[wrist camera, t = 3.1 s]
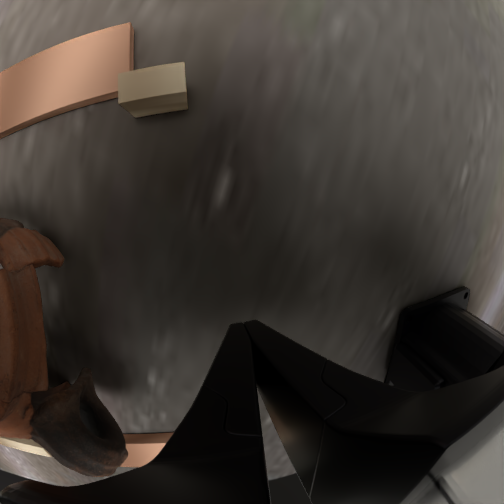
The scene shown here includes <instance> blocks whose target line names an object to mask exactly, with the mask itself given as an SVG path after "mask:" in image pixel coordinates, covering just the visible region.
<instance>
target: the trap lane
mask: <svg viewBox="0 0 504 504" xmlns="http://www.w3.org/2000/svg"><path fill="white" fill-rule="evenodd" d="M113 98H118V104H119V105H121V106H122V107H123V108H124V109H125V110H127V111H128V112H129V113H130V114H131V115H133V116H134V117H135V118H138V117H143V116H148V115H154V114H159V113H166V112H172V111H179V110H186V109H188V101H187V87H186V75H185V63H184V62H179V63H171V64H165V65H158V66H153V67H147V68H142V69H137V70H134V29H133V27H132V25H131V22H130V23H125V24H121V25H117V26H113V27H109V28H106V29H102V30H99V31H96V32H92V33H89V34H86V35H83V36H80V37H77V38H74V39H72V40H69V41H66V42H64V43H61V44H58V45H56V46H53V47H51V48H49V49H46V50H44V51H42V52H40V53H37V54H35V55H33V56H31V57H29V58H27V59H25V60H23V61H21V62H19V63H17V64H15V65H13V66H11V67H10V68H8V69H6V70H4V71H2V72H1V73H0V139H1V138H3V137H5V136H7V135H10V134H12V133H14V132H16V131H18V130H21V129H23V128H25V127H28V126H30V125H32V124H35V123H37V122H40V121H43V120H45V119H48V118H51V117H53V116H56V115H59V114H62V113H65V112H68V111H71V110H74V109H77V108H80V107H84V106H87V105H91V104H94V103H98V102H102V101H105V100H109V99H113ZM173 433H174V432H172V433H154V434H123V435H124V439H125V442H126V449H127V451H128V457H127V458H126V460H125V461H124V463H123V464H122V465H121V467H141V466H144V465H146V464H147V463H149V462H150V461H151V460H153V459H154V458H155V457H156V456H157V455H158V454H159V452H160V451H161V450H162V448H163V447H164V446H165V444H166V443H167V441H168V440H169V439H170V437H171V436H172V434H173ZM0 444H2V445H5V446H8V447H11V448H15V449H18V450H22V451H26V452H30V453H34V454H38V455H43V456H48V457H51V456H52V455H51V454H50V453H49V452H48V451H46V450H45V449H44V448H43V447H42V446H40V445H39V444H37V443H36V442H34V441H33V440H32V439H30V440H28V439H19V438H6V437H1V436H0Z"/></svg>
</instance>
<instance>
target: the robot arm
mask: <svg viewBox="0 0 504 504" xmlns="http://www.w3.org/2000/svg"><path fill="white" fill-rule="evenodd" d="M469 295H470V289H468V288H467V287H461V288H459V289H456V290H454V291H451V292H449V293H446V294H444V295H441V296H438V297H436V298H433V299H430V300H428V301H425V302H422V303H419V304H417V305H414V306H411V307H408V308H406V309H405V310H404V311H403V312H402V313H401V315H400V319H399V325H398V330H397V335H396V340H395V345H394V350H393V354H392V359H391V363H390V367H389V371H388V375H387V379H386V382H385V383H383V382H380V381H377V380H374V379H371V378H369V377H366V376H363V375H361V374H358V373H356V372H353V371H351V370H349V369H347V368H345V367H342V366H340V365H338V364H336V363H334V362H332V361H331V360H327V359H326V358H325V357H323V356H321V355H319V354H317V353H315V352H313V351H311V350H310V349H308V348H306V347H304V346H302V345H300V344H299V343H297V342H295V341H293V340H291V339H289V338H288V337H286V336H284V335H282V334H280V333H279V332H277V331H275V330H273V329H272V328H270V327H268V326H266V325H265V324H263V323H261V322H259V321H258V320H252V321H246V322H244V323H242V322H240V323H234V324H231V325H230V326H229V328H228V331H227V333H226V335H225V337H224V339H223V341H222V344H221V346H220V348H219V350H218V352H217V354H216V356H215V359H214V361H213V363H212V365H211V367H210V369H209V372H208V374H207V376H206V378H205V380H204V382H203V384H202V386H201V388H200V391H199V393H198V395H197V397H196V399H195V401H194V402H193V404H192V406H191V408H190V409H189V411H188V413H187V414H186V416H185V417H184V419H183V420H182V422H181V423H180V424H179V426H178V427H177V429H176V430H175V432H174V433H173V434H172V436H171V437H170V439H169V440H168V441H167V443H166V444H165V446H164V447H163V448H162V450H161V451H160V452H159V454H158V455H157V456H156V457H155V458H154V459H153V460H151V461H150V462H149V463H147V464H146V465H144V466H141V467H139V468H136V469H133V470H130V471H127V472H125V473H122V474H119V475H116V476H112V477H109V478H106V479H103V480H99V481H96V482H92V483H89V484H84V485H79V486H70V487H65V486H54V485H49V484H45V483H42V482H38V481H33V480H25V481H22V482H18V483H14V484H12V485H9V486H7V487H6V488H4V489H3V490H2V491H1V492H0V502H1V504H271V501H270V493H269V486H268V477H267V469H266V461H265V453H264V444H263V436H262V428H261V419H260V411H259V402H258V394H257V388H258V390H259V393H260V395H261V397H262V400H263V402H264V404H265V406H266V409H267V411H268V413H269V415H270V417H271V420H272V422H273V424H274V426H275V428H276V431H277V433H278V435H279V437H280V439H281V441H282V443H283V446H284V448H285V450H286V452H287V454H288V456H289V458H290V460H291V462H292V464H293V466H294V468H295V470H296V472H297V474H298V476H299V478H300V480H301V482H302V484H303V486H304V488H305V490H306V492H307V494H308V496H309V498H310V500H311V502H312V504H504V335H503V334H502V333H500V332H499V331H497V330H496V329H494V328H493V327H491V326H490V325H488V324H487V323H485V322H484V321H482V320H481V319H479V318H478V317H476V316H474V315H473V314H471V313H470V312H468V311H467V310H466V308H467V304H468V300H469Z"/></svg>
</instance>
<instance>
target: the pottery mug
mask: <svg viewBox="0 0 504 504" xmlns="http://www.w3.org/2000/svg"><path fill="white" fill-rule="evenodd" d="M0 263H1V265H2V266H3V269H0V436H1V437H6V438H19V439H28V440H30V439H32V440H33V441H34V442H36V443H37V444H39V445H40V446H42V447H43V448H44V449H45V450H46V451H48V452H49V453H50V454H51V455H52V456H53V457H54V458H55V459H56V460H57V461H58V462H59V463H61V464H62V465H64V466H65V467H67V468H69V469H71V470H74V471H76V472H78V473H80V474H83V475H86V476H91V477H104V476H109V475H112V474H114V473H115V471H116V468H117V467H120V466H121V465H122V464H123V463H124V461H125V460H126V458H127V457H128V451H127V449H126V442H125V439H124V435H123V433H122V431H121V429H120V427H119V426H118V424H117V422H116V421H115V419H114V418H113V417H112V415H111V414H110V412H109V411H108V410H107V408H106V407H105V406H104V405H103V403H102V402H101V401H100V399H99V398H98V396H97V395H96V392H95V388H94V384H93V378H92V373H91V370H90V369H89V368H83V369H82V371H81V373H80V375H79V377H78V379H77V380H76V381H75V383H74V384H73V385H71V386H70V384H69V383H68V382H65V383H63V384H61V385H59V386H57V387H53V388H48V371H47V360H46V354H47V351H46V349H47V344H46V337H45V333H44V326H43V311H42V300H41V292H40V288H39V283H38V278H37V275H36V270H35V268H37V267H40V266H43V265H48V266H54V267H58V268H59V267H61V266H62V264H63V263H64V257H63V256H62V254H61V252H60V251H59V250H58V249H57V247H56V246H55V245H54V244H53V243H52V241H51V240H50V239H48V238H47V237H45V236H42V235H41V234H40V233H39V232H37V231H36V230H29V229H26V228H24V226H23V224H22V223H20V222H19V221H17V220H10V219H4V218H0Z"/></svg>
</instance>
